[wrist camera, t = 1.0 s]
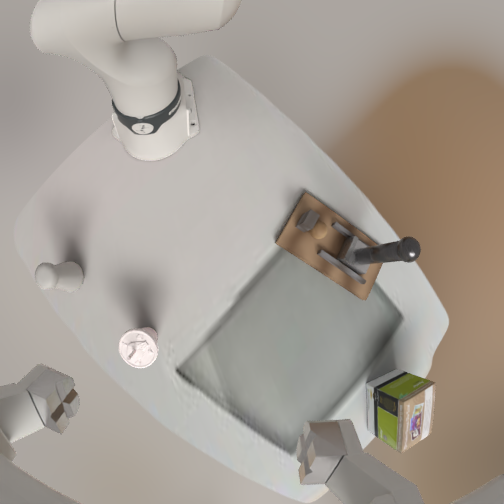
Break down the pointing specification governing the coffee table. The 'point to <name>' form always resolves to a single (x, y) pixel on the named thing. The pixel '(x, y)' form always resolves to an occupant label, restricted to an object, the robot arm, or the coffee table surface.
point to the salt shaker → (59, 276)
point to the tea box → (400, 408)
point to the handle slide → (376, 253)
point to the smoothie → (139, 347)
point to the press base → (326, 244)
